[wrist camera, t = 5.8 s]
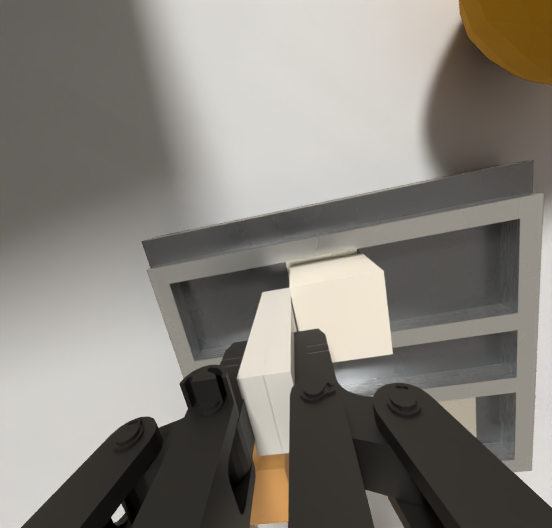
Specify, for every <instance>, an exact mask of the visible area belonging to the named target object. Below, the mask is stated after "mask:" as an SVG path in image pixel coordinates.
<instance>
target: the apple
mask: <svg viewBox="0 0 552 528" xmlns="http://www.w3.org/2000/svg"><path fill="white" fill-rule="evenodd" d="M459 8H460V15H461V18H462V21H463V24H464V27H465V30H466V33H467V36H468V38H469V39H470V40H471V41H472V42H473V43H474V44H475V45H476V46H477V48H478V49H479V50H480V51H481V52H482V53H483V54H484V55H485V56H486V57H487V58H488V59H489V60H491V61H493V62H494V63H496V64H497V65H499V66H500V67H502V68H503V69H505V70H507V71H508V72H510V73H511V74H513V75H514V76H516V77H519V78H522V79H525V80H528V81H531V82H537V83H542V84H548V85H552V0H459Z"/></svg>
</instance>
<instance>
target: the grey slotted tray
mask: <svg viewBox="0 0 552 528" xmlns="http://www.w3.org/2000/svg"><path fill="white" fill-rule="evenodd" d="M532 186H533V160H531V161H524V162H517V163H510V164H504V165H498V166H494V167H489V168H484V169H479V170H474V171H470V172H465V173H460V174H455V175H450V176H446V177H441V178H436V179H431V180H426V181H422V182H417V183H412V184H407V185H402V186H398V187H393V188H388V189H383V190H378V191H374V192H369V193H364V194H359V195H354V196H350V197H345V198H340V199H335V200H330V201H326V202H321V203H316V204H311V205H306V206H302V207H297V208H292V209H287V210H282V211H278V212H273V213H268V214H263V215H258V216H254V217H249V218H244V219H239V220H235V221H230V222H225V223H220V224H215V225H211V226H206V227H201V228H196V229H191V230H187V231H182V232H177V233H172V234H167V235H163V236H158V237H155V238H152V239H148V240H145V241H142V244H143V247H144V250H145V253H146V256H147V259H148V262H149V265H150V269H148V270H147V272H148V275H149V278H150V281H151V284H152V287H153V290H154V293H155V296H156V299H157V301H158V304H159V307H160V310H161V313H162V316H163V319H164V322H165V325H166V328H167V331H168V334H169V337H170V340H171V342H172V345H173V348H174V351H175V354H176V357H177V360H178V363H179V366H180V369H181V372H182V375H183V378H185V377H186V376H187V375H189V374H190V373H191V372H193V371H194V370H197V369H199V368H201V367H204V366H208V365H220V363H221V361H222V358H223V356H224V353H225V351H226V350H227V349H228V348H229V347H230V346H231V345H232V344H233V343H234V342H241V341H247V340H248V339H249V336H250V332H251V329H252V326H253V322H254V319H255V316H256V312H257V309H258V306H259V302H260V299H261V296H262V292H267V291H273V290H278V289H284V288H289V284H290V266H294V265H299V264H305V263H310V262H316V261H321V260H326V259H332V258H337V257H343V256H348V255H354V254H359V253H363V254H364V255H365V256H366V257H367V258H369V259H370V260H371V261H372V262H373V263H375V264H376V265H377V266H378V267H380V268H381V269H382V270H383V271H384V278H385V287H386V296H387V305H388V314H389V323H390V332H391V341H392V350H393V354H391V355H383V356H376V357H369V358H362V359H355V360H348V361H341V362H333V363H332V364H333V368H334V372H335V376H336V379H337V381H338V383H339V384H340V385H341V386H342V387H343V388H344V389H346V390H347V391H349V392H351V393H354V394H358V395H362V396H370V397H373V395H374V394H375V392H376V391H377V390H378V388H380V387H382V386H384V385H386V384H391V383H406V384H410V385H413V386H416V387H419V388H421V389H422V390H424V391H425V392H426V393H428V394H429V395H430V396H432V397H433V398H434V399H435V400H436V401H437V402H438V403H439V404H440V405H441V406H442V407H443V408H444V409H446V410H447V411H448V412H449V413H450V414H451V415H452V416H453V417H454V418H455V419H456V420H457V421H458V422H460V423H461V424H462V425H463V426H464V427H465V428H466V429H467V430H468V431H469V432H470V433H471V434H473V435H474V436H475V437H476V438H477V439H478V440H479V441H480V442H481V443H482V444H483V445H484V446H485V447H487V448H488V449H489V450H490V451H491V452H492V453H493V454H494V455H495V456H496V457H497V458H498V459H499V460H501V461H502V462H503V463H504V464H505V465H506V466H507V467H508V468H509V469H510V470H511V471H512V472H521V471H532V455H533V432H534V409H535V386H536V363H537V339H538V316H539V293H540V270H541V247H542V223H543V200H544V193H532Z"/></svg>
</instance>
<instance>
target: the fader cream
mask: <svg viewBox="0 0 552 528" xmlns="http://www.w3.org/2000/svg"><path fill="white" fill-rule="evenodd" d="M289 288H290V293H291V298H292V303H293V307H294V312H295V317H296V322H297V327H298V331H305V330H311V329H318V328H319V329H320V330H321V331H322V332H323V333H324V334H325V335H326V339H327V343H328V347H329V351H330V355H331V359H332V363H333V362H341V361H348V360H355V359H362V358H369V357H376V356H383V355H391V354H393V350H392V341H391V332H390V323H389V314H388V305H387V296H386V287H385V278H384V271H383V270H382V269H381V268H380V267H378V266H377V265H376V264H375V263H373V262H372V261H371V260H370V259H369V258H367V257H366V256H365V255H364V254H363V253H359V254H354V255H348V256H343V257H337V258H332V259H326V260H321V261H316V262H310V263H305V264H299V265H294V266H290V284H289Z"/></svg>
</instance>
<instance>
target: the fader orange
mask: <svg viewBox="0 0 552 528" xmlns="http://www.w3.org/2000/svg"><path fill="white" fill-rule="evenodd" d="M252 458H253V462H254V465H255V472H256V478H255V486H254V494H253V502H252V510H251V519H250V525H254V524H268V523H281V522H288V504H289V453H284V454H274V455H265V456H258V453H257V449H256V446H255V443H254V450H253V457H252Z"/></svg>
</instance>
